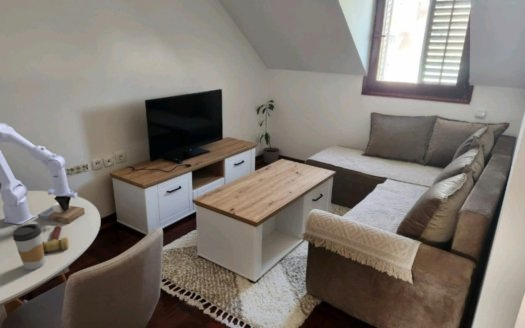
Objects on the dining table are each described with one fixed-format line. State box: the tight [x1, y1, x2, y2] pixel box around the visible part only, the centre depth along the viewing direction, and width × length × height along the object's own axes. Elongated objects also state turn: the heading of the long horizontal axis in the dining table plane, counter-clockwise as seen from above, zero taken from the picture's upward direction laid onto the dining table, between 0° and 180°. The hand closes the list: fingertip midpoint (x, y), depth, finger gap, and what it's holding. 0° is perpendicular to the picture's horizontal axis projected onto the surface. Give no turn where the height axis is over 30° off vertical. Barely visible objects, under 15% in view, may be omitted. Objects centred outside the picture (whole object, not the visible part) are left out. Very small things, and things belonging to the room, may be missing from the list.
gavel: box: [42, 224, 70, 254], centre depth 142 cm, size 21×5×10 cm
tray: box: [37, 206, 53, 222], centre depth 161 cm, size 6×10×2 cm, turn 165°
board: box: [49, 205, 86, 225], centre depth 159 cm, size 10×10×3 cm
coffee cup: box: [12, 223, 46, 271], centre depth 124 cm, size 8×8×15 cm
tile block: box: [51, 201, 63, 213], centre depth 159 cm, size 4×4×3 cm
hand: (65, 209), depth 158 cm, fingers closed
